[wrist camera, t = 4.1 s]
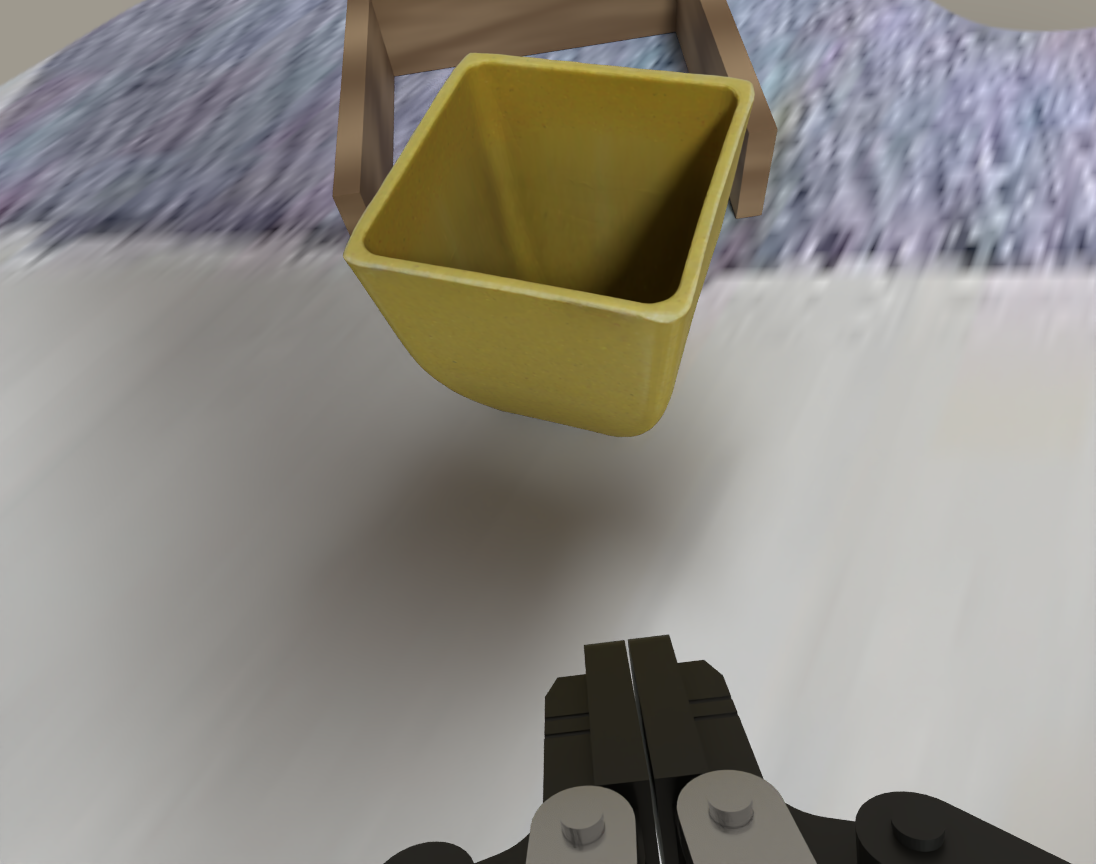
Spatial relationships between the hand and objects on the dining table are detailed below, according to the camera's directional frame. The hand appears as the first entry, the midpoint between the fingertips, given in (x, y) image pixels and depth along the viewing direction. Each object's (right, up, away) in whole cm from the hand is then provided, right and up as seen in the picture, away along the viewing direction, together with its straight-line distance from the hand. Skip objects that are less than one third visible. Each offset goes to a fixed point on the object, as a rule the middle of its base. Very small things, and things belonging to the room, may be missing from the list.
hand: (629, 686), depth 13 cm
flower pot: (0, +7, +14) cm, 16 cm away
